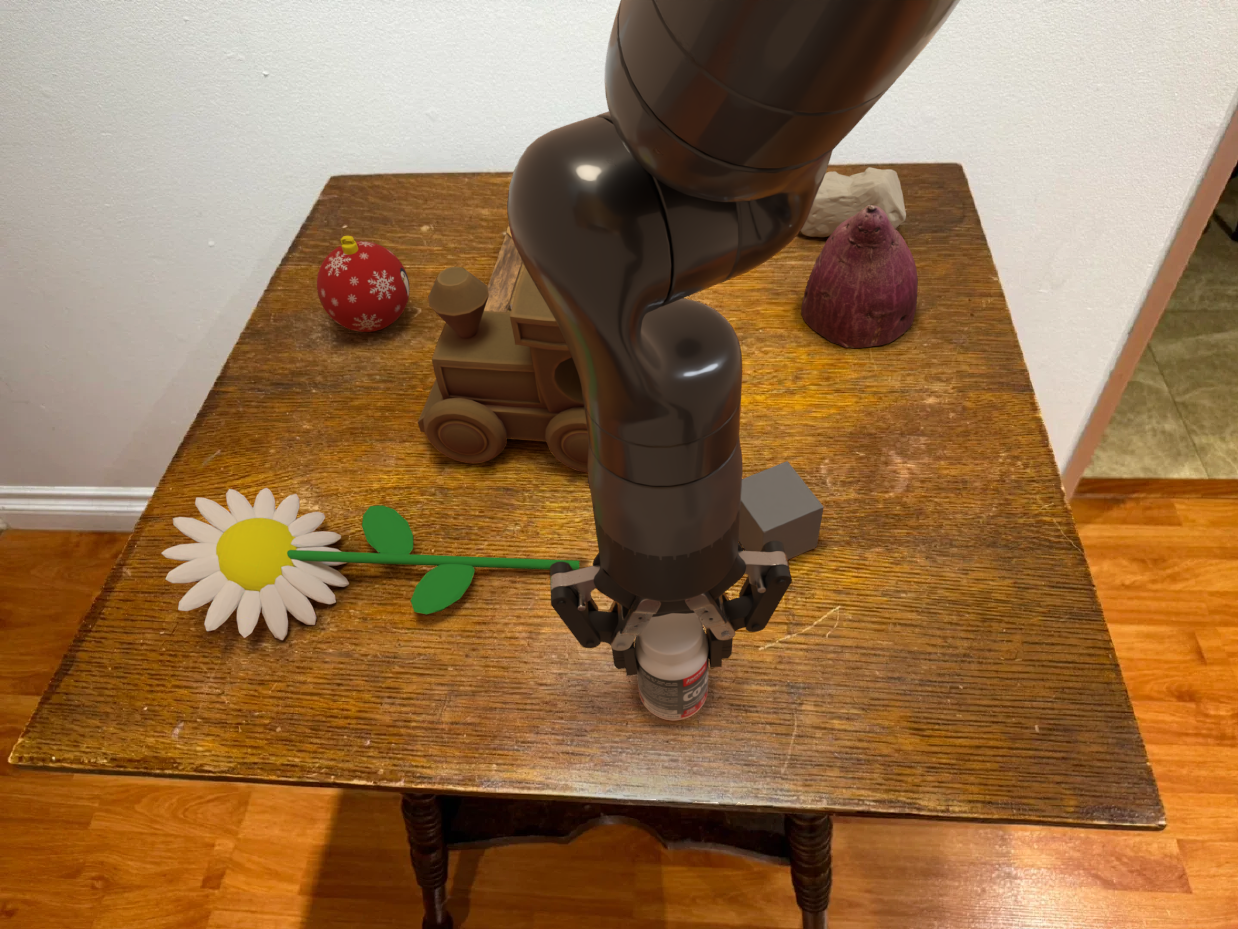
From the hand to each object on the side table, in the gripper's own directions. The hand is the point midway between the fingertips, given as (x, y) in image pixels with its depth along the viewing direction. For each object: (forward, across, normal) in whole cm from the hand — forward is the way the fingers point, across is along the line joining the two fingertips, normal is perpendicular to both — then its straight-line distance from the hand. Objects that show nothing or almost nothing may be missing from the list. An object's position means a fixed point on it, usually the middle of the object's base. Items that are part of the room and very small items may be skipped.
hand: (672, 658), depth 57 cm
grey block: (+4, +9, +12) cm, 16 cm away
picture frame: (+5, -4, +45) cm, 45 cm away
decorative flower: (+5, -21, +12) cm, 24 cm away
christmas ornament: (+5, -25, +43) cm, 50 cm away
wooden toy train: (+5, -8, +26) cm, 28 cm away
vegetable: (+5, +22, +37) cm, 43 cm away
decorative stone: (+5, +25, +52) cm, 58 cm away
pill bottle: (+5, 0, 0) cm, 5 cm away
